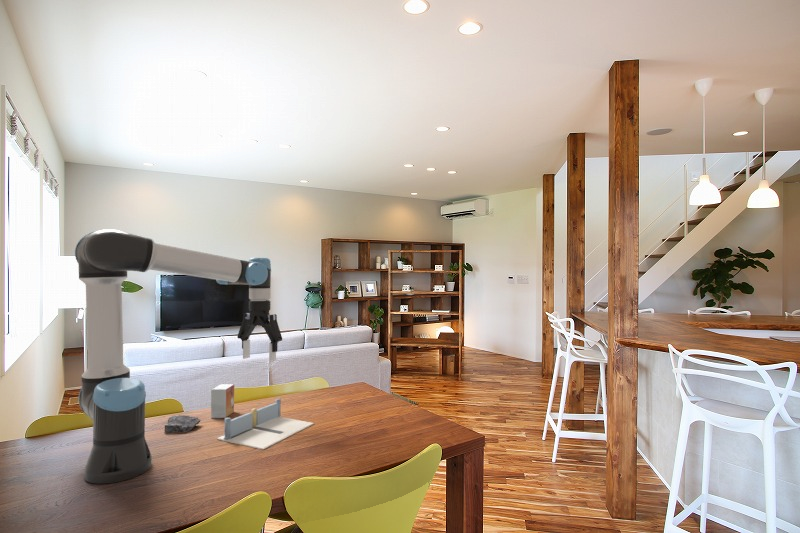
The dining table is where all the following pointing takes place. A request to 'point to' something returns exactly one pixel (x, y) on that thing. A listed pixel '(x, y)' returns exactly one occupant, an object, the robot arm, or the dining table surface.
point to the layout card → (268, 433)
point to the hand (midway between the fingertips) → (259, 359)
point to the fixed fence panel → (237, 425)
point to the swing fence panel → (266, 413)
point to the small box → (222, 401)
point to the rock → (180, 424)
